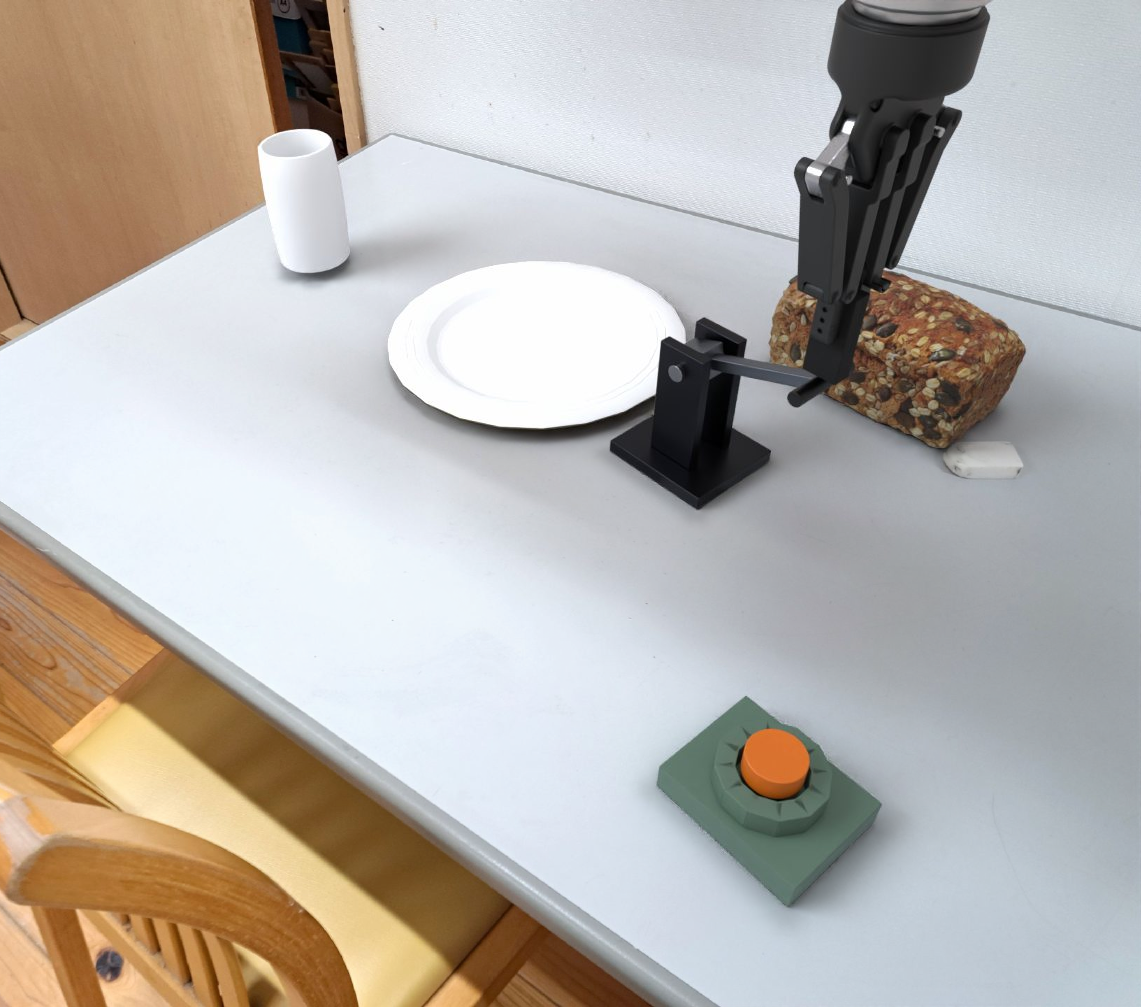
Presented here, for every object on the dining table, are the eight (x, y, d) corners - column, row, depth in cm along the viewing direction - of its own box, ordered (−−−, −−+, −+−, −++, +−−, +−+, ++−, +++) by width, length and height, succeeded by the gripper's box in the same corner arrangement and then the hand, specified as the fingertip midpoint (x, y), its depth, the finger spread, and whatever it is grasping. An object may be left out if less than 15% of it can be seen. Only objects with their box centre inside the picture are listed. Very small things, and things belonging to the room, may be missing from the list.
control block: (873, 822, 57) (890, 787, 54) (787, 908, 53) (800, 874, 51) (741, 714, 63) (750, 677, 60) (656, 785, 59) (661, 749, 57)
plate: (745, 340, 94) (748, 324, 93) (546, 489, 80) (546, 472, 78) (527, 248, 110) (527, 233, 109) (329, 358, 96) (326, 342, 94)
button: (817, 774, 55) (823, 758, 54) (777, 811, 54) (782, 795, 53) (767, 734, 57) (772, 717, 56) (727, 768, 56) (731, 752, 55)
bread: (759, 368, 91) (776, 273, 84) (828, 325, 95) (849, 232, 88) (941, 461, 80) (978, 362, 73) (1008, 408, 84) (1049, 309, 77)
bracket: (769, 461, 81) (794, 343, 73) (697, 510, 77) (714, 391, 69) (680, 408, 87) (694, 293, 79) (609, 450, 83) (616, 335, 75)
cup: (268, 262, 111) (241, 141, 101) (332, 240, 114) (313, 120, 104) (299, 292, 106) (274, 167, 96) (366, 268, 109) (349, 145, 99)
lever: (856, 382, 68) (854, 350, 67) (802, 417, 65) (800, 385, 64) (715, 355, 78) (711, 327, 77) (663, 385, 75) (659, 357, 74)
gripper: (923, -39, 55) (837, 315, 71) (776, 16, 49) (719, 386, 65) (1051, -14, 50) (928, 358, 67) (905, 49, 45) (810, 438, 61)
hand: (825, 372), depth 66 cm, fingers closed
